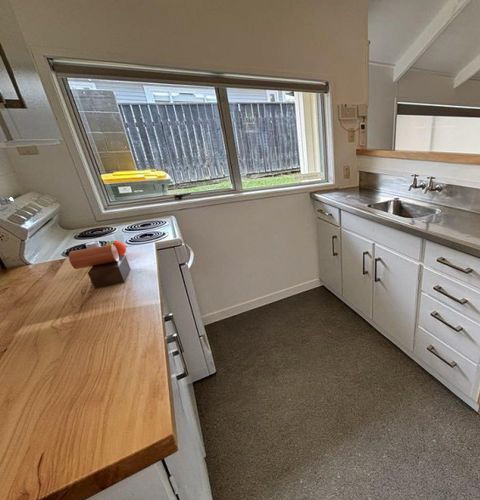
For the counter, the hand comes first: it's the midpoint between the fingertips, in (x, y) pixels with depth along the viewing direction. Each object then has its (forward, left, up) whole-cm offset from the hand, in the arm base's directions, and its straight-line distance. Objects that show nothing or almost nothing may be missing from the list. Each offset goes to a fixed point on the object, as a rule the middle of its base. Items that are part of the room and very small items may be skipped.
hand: (2, 202), depth 79 cm
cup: (+14, +1, -24) cm, 28 cm away
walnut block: (+16, +1, -30) cm, 34 cm away
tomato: (+14, +25, -30) cm, 41 cm away
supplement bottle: (+8, +22, -30) cm, 38 cm away
